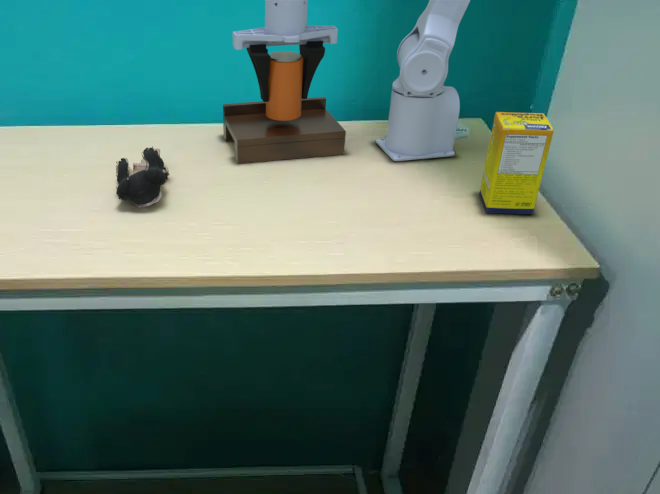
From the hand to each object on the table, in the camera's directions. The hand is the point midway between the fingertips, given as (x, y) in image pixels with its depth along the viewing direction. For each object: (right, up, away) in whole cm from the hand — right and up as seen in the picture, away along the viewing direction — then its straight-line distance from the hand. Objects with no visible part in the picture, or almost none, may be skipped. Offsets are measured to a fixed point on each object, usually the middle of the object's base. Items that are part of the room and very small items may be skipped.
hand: (283, 98), depth 106 cm
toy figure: (-19, -15, -7) cm, 26 cm away
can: (0, -2, +2) cm, 2 cm away
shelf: (0, -5, +4) cm, 7 cm away
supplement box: (+28, -18, -12) cm, 35 cm away
